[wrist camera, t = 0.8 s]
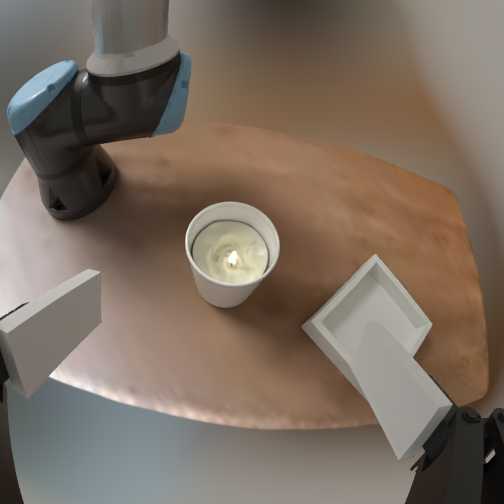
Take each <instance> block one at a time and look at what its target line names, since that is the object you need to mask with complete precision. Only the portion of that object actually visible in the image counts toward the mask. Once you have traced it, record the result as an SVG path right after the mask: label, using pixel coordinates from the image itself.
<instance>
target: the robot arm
mask: <svg viewBox="0 0 504 504" xmlns="http://www.w3.org/2000/svg"><path fill="white" fill-rule="evenodd" d="M90 1H91V13H92V23H93V31H94V39H95V46H96V49H95V51H94V52H93V53H92V55H91V56H90V58H89V59H88V61H87V63H86V69H83V70H78V65H77V64H76V63H75V62H74V61H72V60H70V61H68V60H67V61H62V62H60V63H57V64H55V65H53V66H51V67H49V68H47V69H45V70H44V71H42V72H40V73H39V74H37V75H36V76H35V77H33V78H32V79H31V80H29V81H28V82H27V83H26V84H25V85H24V86H23V87H22V88H21V89H20V90H19V91H18V92H17V93H16V94H15V96H14V97H13V98H12V100H11V102H10V104H9V106H8V110H7V117H8V120H9V122H10V125H11V128H12V133H13V134H14V136H15V137H16V139H17V141H18V143H19V145H20V147H21V149H22V151H23V152H24V154H25V156H26V158H27V160H28V161H29V163H30V165H31V166H32V168H33V170H34V171H35V173H36V175H37V177H38V183H39V189H40V194H41V199H42V202H43V204H44V206H45V207H46V209H47V210H48V212H49V213H50V214H51V215H52V216H54V217H55V218H57V219H61V220H73V219H77V218H80V217H83V216H85V215H87V214H89V213H91V212H92V211H94V210H95V209H96V208H98V207H99V206H100V205H101V204H102V203H103V202H104V201H105V200H106V198H107V197H108V196H109V194H110V193H111V191H112V189H113V187H114V184H115V180H116V171H115V167H114V164H113V161H112V159H111V157H110V156H109V154H108V153H107V152H106V151H105V150H104V149H103V148H102V146H101V145H100V144H104V143H110V142H116V141H123V140H130V139H137V138H146V137H149V138H152V137H154V136H156V135H162V134H169V133H173V132H175V131H176V130H178V129H179V128H180V126H181V125H182V122H183V119H184V115H185V110H186V105H187V99H188V91H189V87H188V85H189V80H190V73H191V58H190V56H189V55H188V54H184V53H182V52H181V53H180V44H179V42H178V41H177V40H176V39H174V38H173V37H172V36H170V35H169V34H168V12H169V0H90ZM101 322H102V321H101V272H99V271H95V270H92V269H87V270H85V271H83V272H81V273H80V274H78V275H76V276H74V277H72V278H71V279H69V280H67V281H65V282H63V283H62V284H60V285H58V286H56V287H55V288H53V289H51V290H50V291H48V292H46V293H44V294H43V295H41V296H39V297H38V298H36V299H34V300H33V301H31V302H28V303H25V304H22V305H20V306H19V307H17V308H16V309H15V310H12V311H11V312H9V313H8V314H6V315H4V316H3V317H1V318H0V504H24V503H23V500H22V496H21V493H20V488H19V484H18V480H17V476H16V471H15V466H14V462H13V455H12V449H11V442H10V434H9V424H8V410H7V388H6V385H5V381H6V380H7V379H9V378H10V381H11V384H12V386H13V389H14V390H15V391H16V392H18V393H19V394H21V395H23V396H24V397H26V398H27V399H28V398H29V397H30V396H31V395H32V394H33V392H34V391H35V390H36V389H37V388H38V387H39V386H40V385H41V384H42V383H43V381H44V380H45V379H46V378H47V377H48V376H49V375H50V374H51V373H52V372H53V371H54V370H55V369H56V368H57V367H58V365H59V364H60V363H61V362H62V361H63V360H64V359H65V358H66V357H67V356H68V355H69V354H70V353H71V352H72V351H73V350H74V349H75V348H76V347H77V346H78V345H79V344H80V343H81V342H82V341H83V340H84V339H85V338H86V337H87V336H88V335H89V334H90V333H91V332H92V331H93V330H94V329H95V328H96V327H97V326H98V325H99V324H100V323H101ZM350 368H351V370H352V371H353V373H354V375H355V377H356V379H357V381H358V383H359V385H360V386H361V388H362V390H363V392H364V394H365V396H366V398H367V400H368V402H369V403H370V405H371V407H372V409H373V411H374V413H375V415H376V417H377V419H378V421H379V423H380V425H381V427H382V428H383V431H384V433H385V435H386V436H387V439H388V440H389V442H390V444H391V446H392V449H393V451H394V453H395V454H396V457H397V458H398V460H402V459H406V458H410V457H414V456H415V454H416V453H417V452H418V451H419V450H420V449H421V447H423V448H424V450H425V453H424V454H423V455H422V456H421V457H420V458H419V460H418V461H417V462H416V463H415V464H414V465H413V466H412V467H411V469H410V470H411V471H412V470H413V469H414V468H415V467H417V466H418V468H417V470H416V474H415V478H414V480H413V483H412V486H411V489H410V492H409V494H408V497H407V500H406V502H405V504H504V409H502V408H496V409H494V411H493V412H492V413H491V415H490V416H489V418H481V416H480V414H479V413H478V412H477V411H475V410H474V409H472V408H470V407H460V408H458V407H457V406H456V404H455V403H454V402H453V401H452V400H451V399H450V397H449V396H448V395H447V394H446V393H445V391H444V390H442V388H441V387H440V386H439V384H438V385H437V382H436V381H435V380H434V379H433V378H432V376H430V375H429V374H427V373H426V372H425V371H424V370H423V369H422V368H421V367H420V365H419V364H418V363H417V362H416V361H415V360H414V359H413V357H412V356H411V355H410V354H409V353H408V352H407V351H406V350H405V349H404V347H403V346H402V345H401V344H400V343H399V342H398V341H397V340H396V339H395V338H394V337H393V335H392V334H391V333H390V332H389V331H388V330H387V329H386V328H385V327H384V326H383V325H382V324H381V323H380V322H373V321H368V322H367V324H366V327H365V330H364V332H363V335H362V338H361V340H360V343H359V345H358V348H357V350H356V353H355V355H354V358H353V360H352V362H351V365H350ZM493 450H494V451H495V455H494V457H493V458H492V459H491V460H490V461H489V462H488V463H486V461H485V459H486V458H487V457H488V455H489V454H490V453H491V452H492V451H493Z"/></svg>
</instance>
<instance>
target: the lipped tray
mask: <svg viewBox="0 0 504 504" xmlns="http://www.w3.org/2000/svg"><path fill="white" fill-rule="evenodd" d="M368 321H373V322H380V323H381V324H382V325H383V326H384V327H385V328H386V329H387V330H388V331H389V332H390V333H391V334H392V335H393V337H394V338H395V339H396V340H397V341H398V342H399V343H400V344H401V345H402V346H403V347H404V349H405V350H406V351H407V352H408V353H409V354H410V355H411V356H412V357H413V356H414V355H415V353H416V352H417V350H418V349H419V347H420V345H421V344H422V342H423V340H424V339H425V337H426V335H427V333H428V332H429V330H430V328H431V326H432V323H431V322H430V321H429V319H428V318H427V316H426V315H425V314H424V313H423V311H422V310H421V309H420V307H419V306H418V305H417V303H416V302H415V301H414V300H413V298H412V297H411V296H410V295H409V293H408V292H407V291H406V290H405V288H404V287H403V286H402V285H401V283H400V282H399V281H398V280H397V279H396V277H395V276H394V275H393V274H392V273H391V271H390V270H389V269H388V268H387V267H386V266H385V264H384V263H383V262H382V261H381V260H380V259H379V257H378V256H377V255H376V254H375V255H373V256H372V257H371V258H370V259H368V260H367V261H366V262H365V263H364V264H363V265H362V266H361V267H360V268H359V269H358V270H357V271H356V272H355V273H354V274H353V275H352V276H351V277H350V278H349V279H348V280H347V281H346V283H345V284H344V285H343V286H342V287H341V288H340V289H339V290H338V291H337V292H336V293H335V294H334V295H333V296H332V297H331V298H330V299H329V300H328V301H327V302H326V303H325V304H324V305H323V306H322V307H321V308H320V309H319V310H318V311H317V312H316V313H314V314H313V315H312V316H311V317H310V318H309V319H308V320H307V321H306V322H305V323H304V324H303V325H302V326H301V328H302V329H303V330H304V331H305V332H306V333H307V335H308V336H309V337H310V338H311V339H312V340H313V341H314V343H315V344H316V345H317V346H318V347H319V348H320V349H321V350H322V351H323V353H324V354H325V355H326V356H327V357H328V358H329V359H330V360H331V362H332V363H333V364H334V365H335V366H336V367H337V368H338V369H339V371H340V372H341V373H342V374H343V375H344V376H345V377H346V378H347V379H348V381H349V382H350V383H351V384H352V385H353V386H354V387H355V388H356V389H357V390H358V392H359V393H360V394H361V395H362V396H363V397H364V398H365V399H366V400H367V398H366V396H365V394H364V392H363V390H362V388H361V386H360V385H359V383H358V381H357V379H356V377H355V375H354V373H353V371H352V370H351V368H350V365H351V362H352V360H353V358H354V355H355V353H356V350H357V348H358V345H359V343H360V340H361V338H362V335H363V332H364V330H365V327H366V324H367V322H368ZM367 401H368V400H367Z"/></svg>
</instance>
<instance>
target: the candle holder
mask: <svg viewBox="0 0 504 504" xmlns="http://www.w3.org/2000/svg"><path fill="white" fill-rule="evenodd" d="M185 247H186V252H187V256H188V258H189V261H190V266H191V270H192V274H193V277H194V281H195V285H196V288H197V290H198V292H199V294H200V295H201V296H202V298H203V299H204V300H205V301H207V302H208V303H210V304H211V305H214V306H216V307H221V308H230V307H234V306H237V305H239V304H241V303H243V302H244V301H245V300H246V299H247V298H248V297H249V296H250V295H251V294H252V293H253V291H254V290H255V289H256V288H257V287H258V285H259V284H260V283H261V282H262V281H263V279H264V278H265V277H266V276H267V275H268V274H269V273H270V272H271V271H272V269H273V268H274V266H275V265H276V263H277V260H278V257H279V253H280V240H279V236H278V233H277V230H276V228H275V226H274V225H273V223H272V222H271V221H270V219H269V218H268V217H267V216H266V215H265V214H264V213H262V212H261V211H259V210H258V209H256V208H254V207H252V206H250V205H247V204H244V203H239V202H221V203H217V204H214V205H211V206H209V207H207V208H205V209H204V210H202V211H201V212H200V213H198V214H197V215H196V216H195V218H194V219H193V220H192V222H191V223H190V225H189V227H188V230H187V233H186V239H185Z"/></svg>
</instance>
